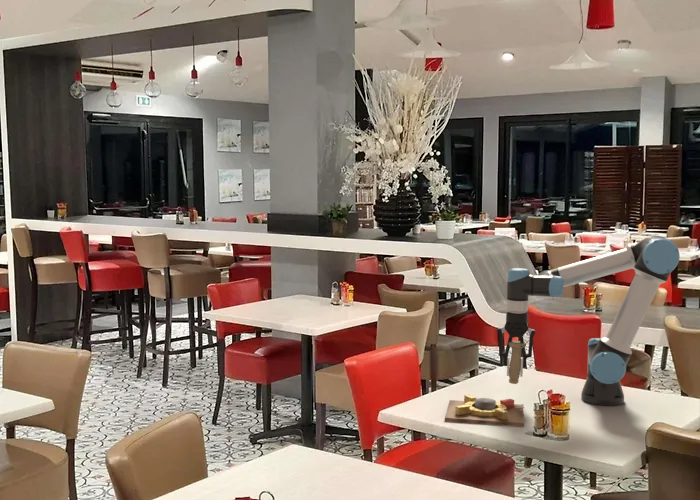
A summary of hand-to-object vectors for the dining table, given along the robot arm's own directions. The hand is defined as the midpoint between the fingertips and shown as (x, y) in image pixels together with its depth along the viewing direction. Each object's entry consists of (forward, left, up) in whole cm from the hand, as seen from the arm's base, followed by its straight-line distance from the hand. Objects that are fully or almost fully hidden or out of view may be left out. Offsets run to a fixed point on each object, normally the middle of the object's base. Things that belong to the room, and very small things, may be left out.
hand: (514, 375), depth 293 cm
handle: (0, 0, -3) cm, 3 cm away
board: (+10, +16, -10) cm, 21 cm away
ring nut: (+10, +16, -9) cm, 21 cm away
